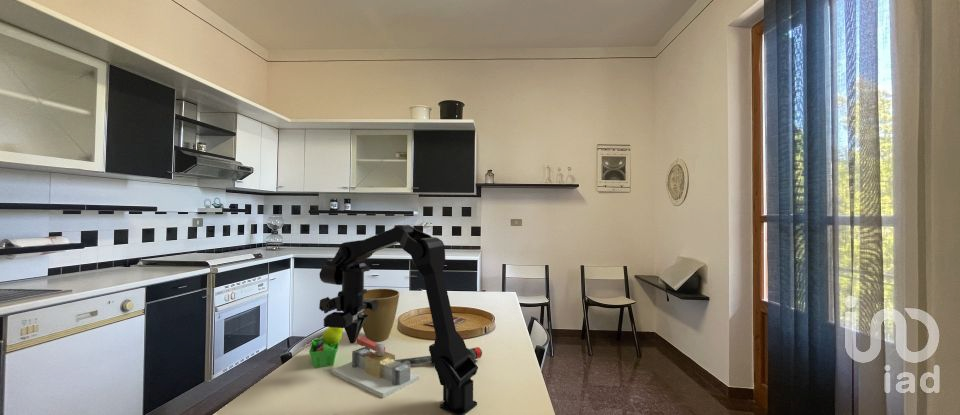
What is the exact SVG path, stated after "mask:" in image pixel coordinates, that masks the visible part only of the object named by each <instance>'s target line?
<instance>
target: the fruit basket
mask: <svg viewBox="0 0 960 415" xmlns="http://www.w3.org/2000/svg"><path fill="white" fill-rule="evenodd" d="M343 331H344V328H334V327H327V329H324V331H323V333H322V338H320V337H319V338H315V339H313V340H312V342H311V345H310V348H309V351H308V352H309V355H310V356H311V361H312V364H313V367H314V369H316V368H323V367H329V366H330V367H331V366H334V363H335V359H336V355H337V352H338V349H339V342H341V339H342V337H343Z"/></svg>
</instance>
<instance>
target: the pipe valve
mask: <svg viewBox="0 0 960 415" xmlns="http://www.w3.org/2000/svg"><path fill="white" fill-rule="evenodd" d="M351 352H352V353H351V355H352V356H351V362H352V367H353V368H355V367H358V368H360V369H363V370H365V373H367V374H369V375H372V376H374V377H376V378H379V379H380V378H384V379H386V380H388V381H391V382H392V385H397V384H398V385H402V384H404V383H406V382H408V381H410V372H411V364H410V361H408V360H407V361H405V362H403V363H400V362H397V361H395V360H396V355H395V354H393V353H389V352H387V351H386V350H385V351H384V355H382V356H377V355H376V351H371V349H369V348H367V347H365V346H362V347H361V348H360V347H359V348H358V349H355V350H352V351H351Z"/></svg>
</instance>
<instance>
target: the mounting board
mask: <svg viewBox="0 0 960 415" xmlns="http://www.w3.org/2000/svg"><path fill="white" fill-rule="evenodd" d="M331 374H333V375H335V376H337V377H339V378H341V379H343V380H345V381H347V382H349V383H351V384H354V385H356V387H360V388H362V389H364V390H366V391H368V392H370V393H372V394H374V395H377V396H379V397H381V398H383V399H384V398H386V397H388V396H390V395H392V394H394V393H395V392H398V391H399V389H400V390H401V389H403V388H405V387H407V386H409V385H411V384H413V383H415V382H417V381H418V380H420V375H419V374H416V373H413V372H411V371H410V381H408V382H406V383H404V384H402V385H398V384H397V385H392V382H391V381H388V380H386V379H384V378H380V379H379V378H376V377H374V376H372V375H369V374H367V373H365V370H363V369H360V368H358V367H355V368H353V367H352V361H351V362H347V363H345V364H343V365H340V366H338V367H334V368H333V369H331Z"/></svg>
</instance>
